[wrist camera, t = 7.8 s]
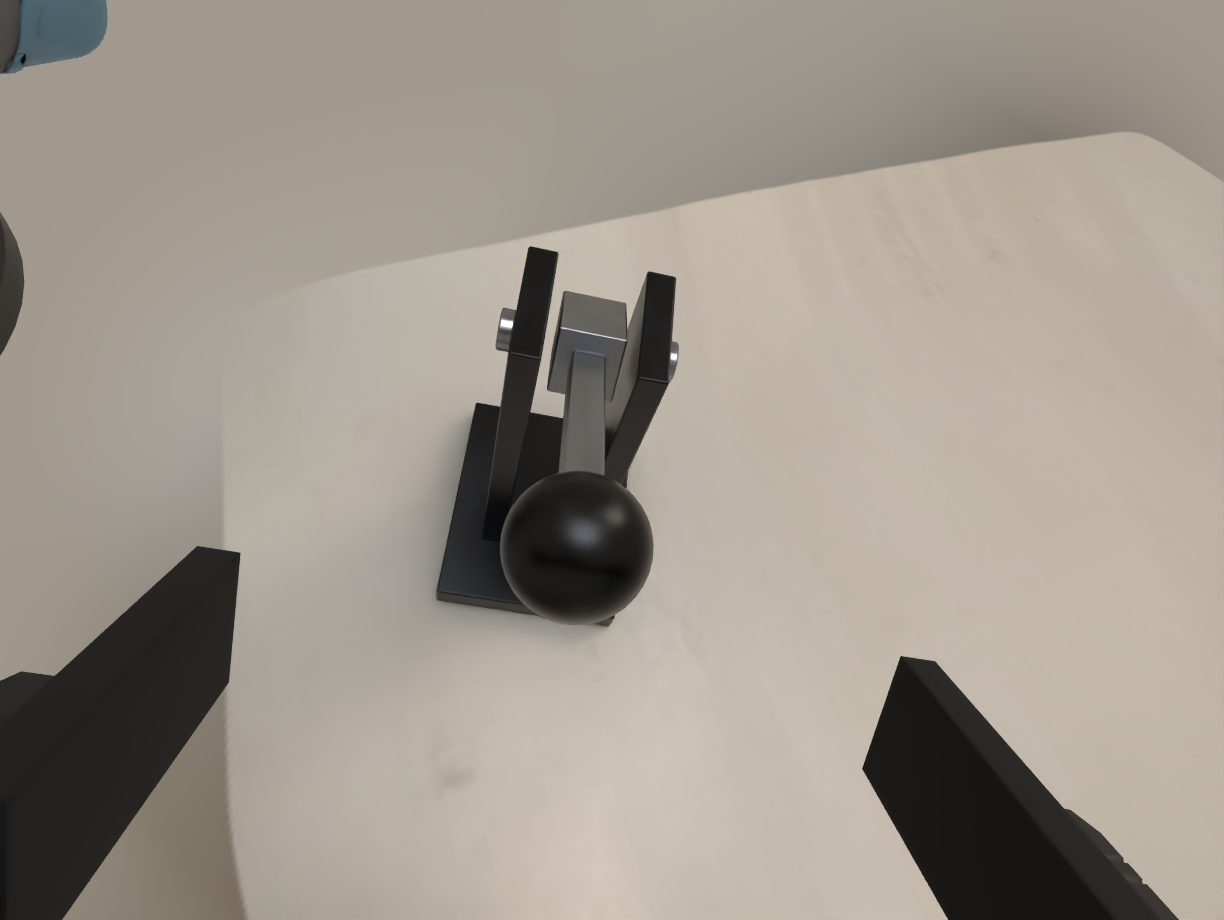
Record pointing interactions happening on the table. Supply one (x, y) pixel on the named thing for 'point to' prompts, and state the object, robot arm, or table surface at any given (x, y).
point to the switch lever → (580, 486)
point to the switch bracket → (545, 429)
